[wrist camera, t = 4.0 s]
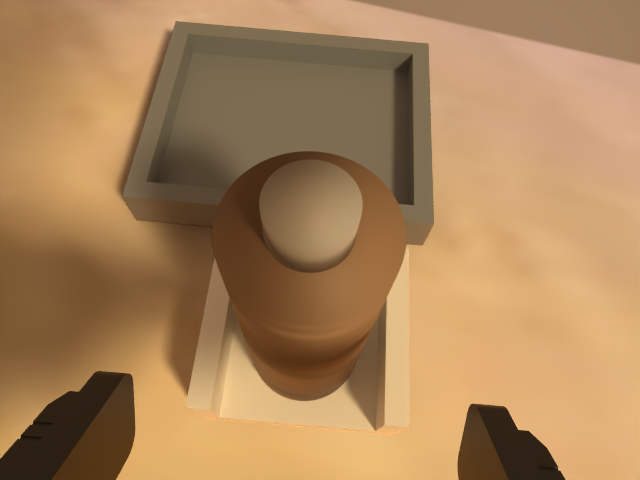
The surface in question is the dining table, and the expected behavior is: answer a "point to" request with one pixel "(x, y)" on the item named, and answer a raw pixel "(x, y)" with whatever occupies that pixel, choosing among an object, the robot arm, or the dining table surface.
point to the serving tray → (281, 117)
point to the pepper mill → (307, 265)
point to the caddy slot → (326, 413)
